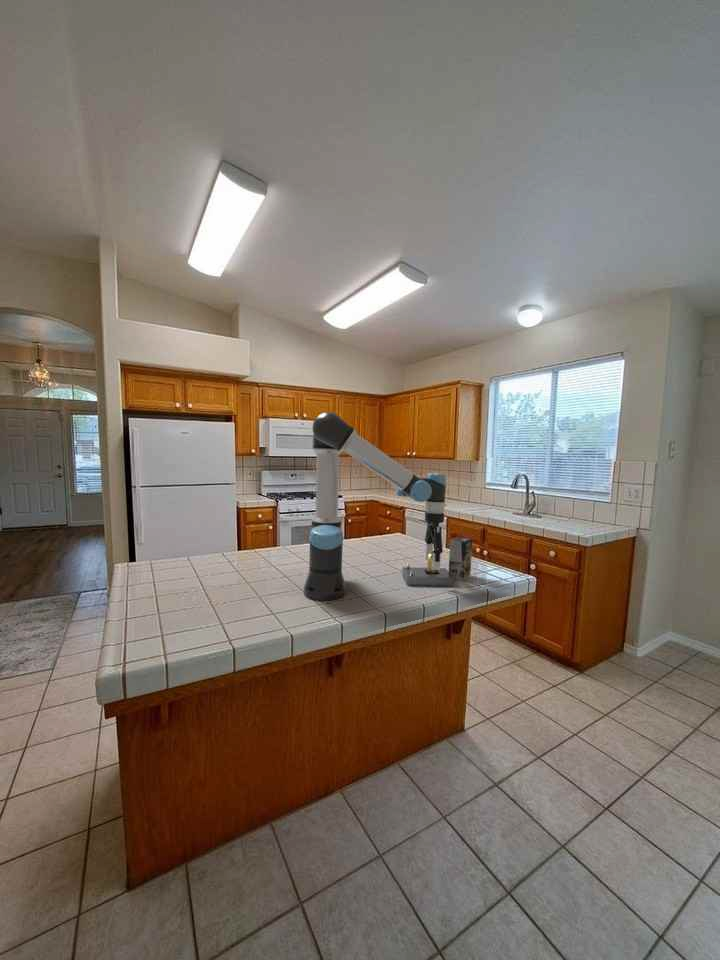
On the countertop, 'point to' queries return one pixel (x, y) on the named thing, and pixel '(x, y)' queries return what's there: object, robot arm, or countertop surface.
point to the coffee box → (460, 558)
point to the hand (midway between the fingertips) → (432, 564)
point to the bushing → (430, 564)
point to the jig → (426, 577)
